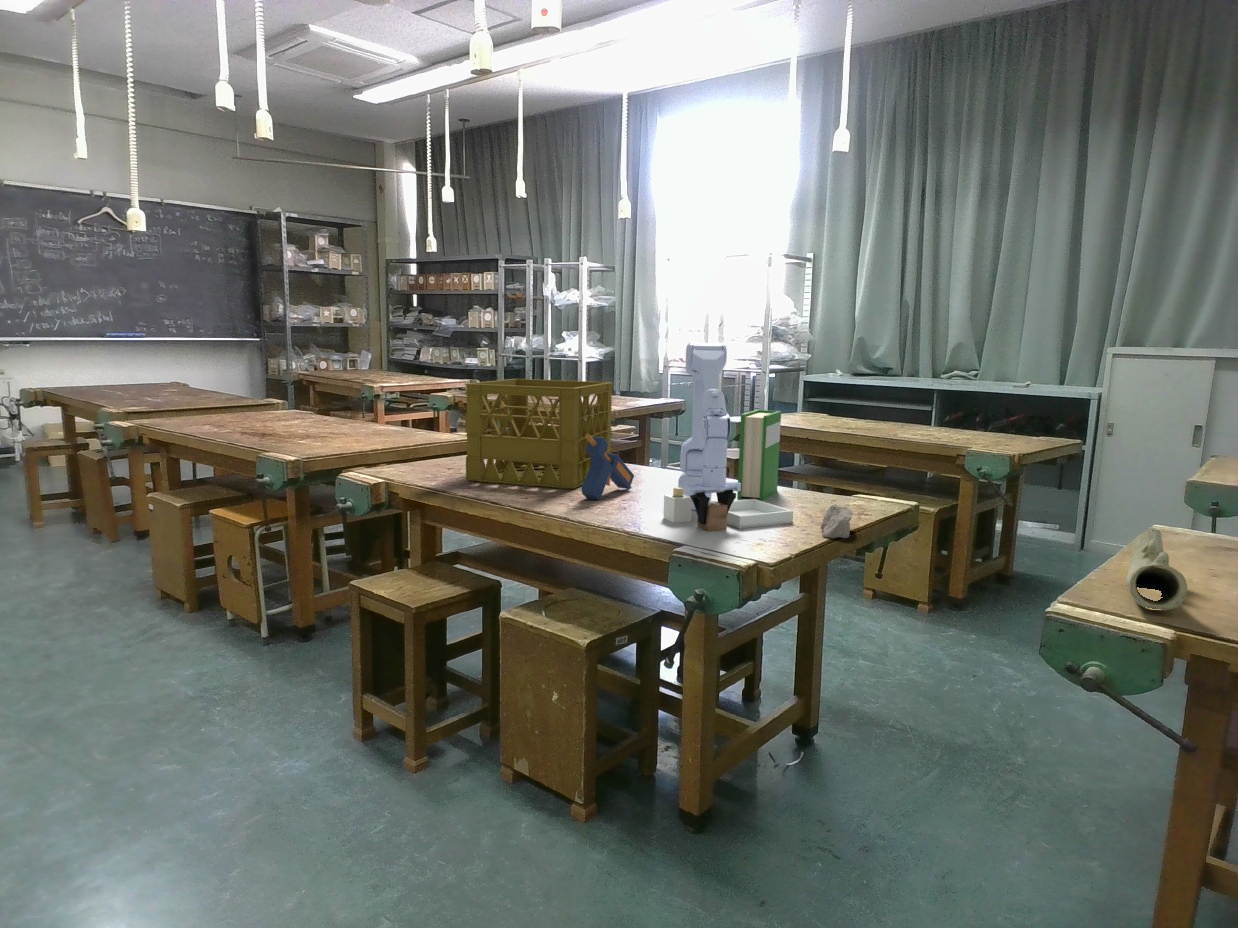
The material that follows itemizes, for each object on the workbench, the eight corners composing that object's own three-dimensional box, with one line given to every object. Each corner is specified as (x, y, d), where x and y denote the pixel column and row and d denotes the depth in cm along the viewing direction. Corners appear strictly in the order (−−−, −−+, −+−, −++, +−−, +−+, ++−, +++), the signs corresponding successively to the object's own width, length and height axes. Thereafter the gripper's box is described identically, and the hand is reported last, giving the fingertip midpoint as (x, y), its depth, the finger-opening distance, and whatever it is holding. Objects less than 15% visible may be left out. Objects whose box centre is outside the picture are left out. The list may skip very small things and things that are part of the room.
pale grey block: (663, 518, 198) (664, 487, 197) (680, 516, 201) (681, 485, 199) (673, 522, 194) (674, 490, 193) (691, 521, 196) (692, 489, 195)
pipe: (1185, 620, 132) (1193, 562, 130) (1126, 612, 135) (1134, 555, 134) (1155, 576, 157) (1161, 527, 155) (1106, 570, 160) (1112, 522, 159)
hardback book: (762, 501, 222) (767, 416, 218) (737, 498, 225) (740, 414, 221) (777, 490, 238) (781, 411, 234) (752, 488, 241) (756, 409, 237)
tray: (703, 514, 203) (703, 503, 203) (753, 509, 210) (754, 498, 210) (739, 528, 189) (740, 516, 189) (792, 522, 196) (793, 511, 196)
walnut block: (697, 527, 190) (698, 502, 189) (714, 525, 192) (715, 500, 191) (708, 531, 186) (709, 506, 185) (726, 529, 188) (727, 504, 187)
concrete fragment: (817, 538, 183) (819, 512, 182) (823, 524, 196) (825, 500, 195) (849, 541, 180) (851, 515, 179) (853, 527, 193) (854, 503, 192)
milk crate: (465, 481, 243) (464, 383, 238) (515, 464, 276) (515, 378, 271) (573, 490, 232) (575, 388, 227) (611, 472, 266) (613, 382, 261)
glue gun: (623, 526, 233) (638, 481, 238) (585, 478, 207) (604, 429, 213) (604, 522, 235) (620, 478, 241) (565, 475, 210) (584, 427, 216)
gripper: (697, 470, 180) (695, 528, 182) (749, 467, 186) (746, 523, 189) (681, 466, 186) (679, 522, 188) (732, 462, 193) (729, 517, 195)
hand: (712, 522), depth 189 cm, fingers closed on walnut block, 5 cm apart
